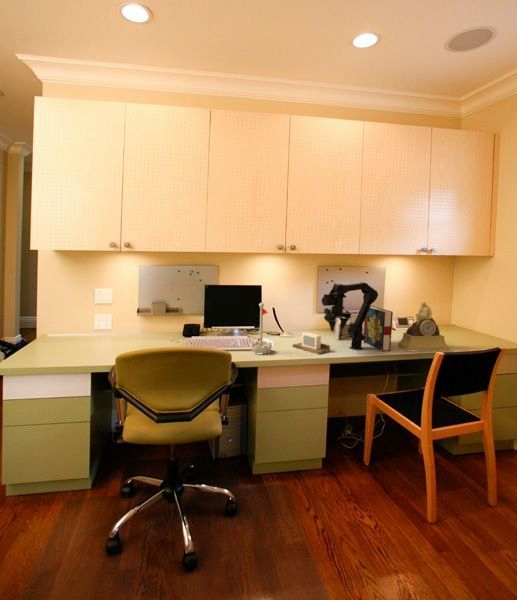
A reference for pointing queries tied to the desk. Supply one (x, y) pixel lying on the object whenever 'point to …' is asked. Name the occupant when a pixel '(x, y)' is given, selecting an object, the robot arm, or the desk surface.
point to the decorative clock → (423, 333)
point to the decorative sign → (342, 332)
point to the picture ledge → (323, 349)
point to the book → (378, 328)
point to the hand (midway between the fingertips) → (337, 330)
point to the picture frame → (311, 340)
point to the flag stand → (261, 346)
